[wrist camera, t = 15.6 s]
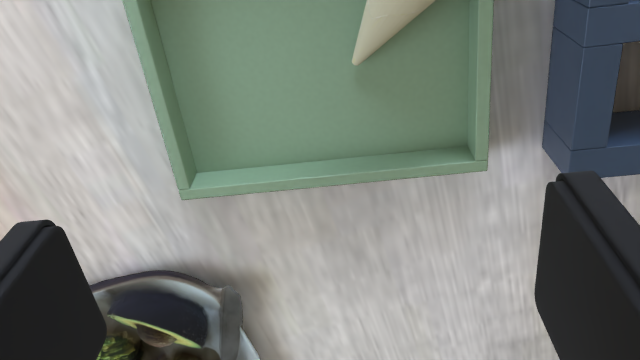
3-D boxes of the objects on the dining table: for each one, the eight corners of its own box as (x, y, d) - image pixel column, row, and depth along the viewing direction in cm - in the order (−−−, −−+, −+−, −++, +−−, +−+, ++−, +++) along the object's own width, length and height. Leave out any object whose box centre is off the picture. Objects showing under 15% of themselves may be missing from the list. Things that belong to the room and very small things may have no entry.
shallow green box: (111, -106, 29) (91, -103, 26) (484, -159, 27) (499, -162, 25) (190, 179, 37) (180, 200, 35) (477, 151, 36) (487, 171, 33)
